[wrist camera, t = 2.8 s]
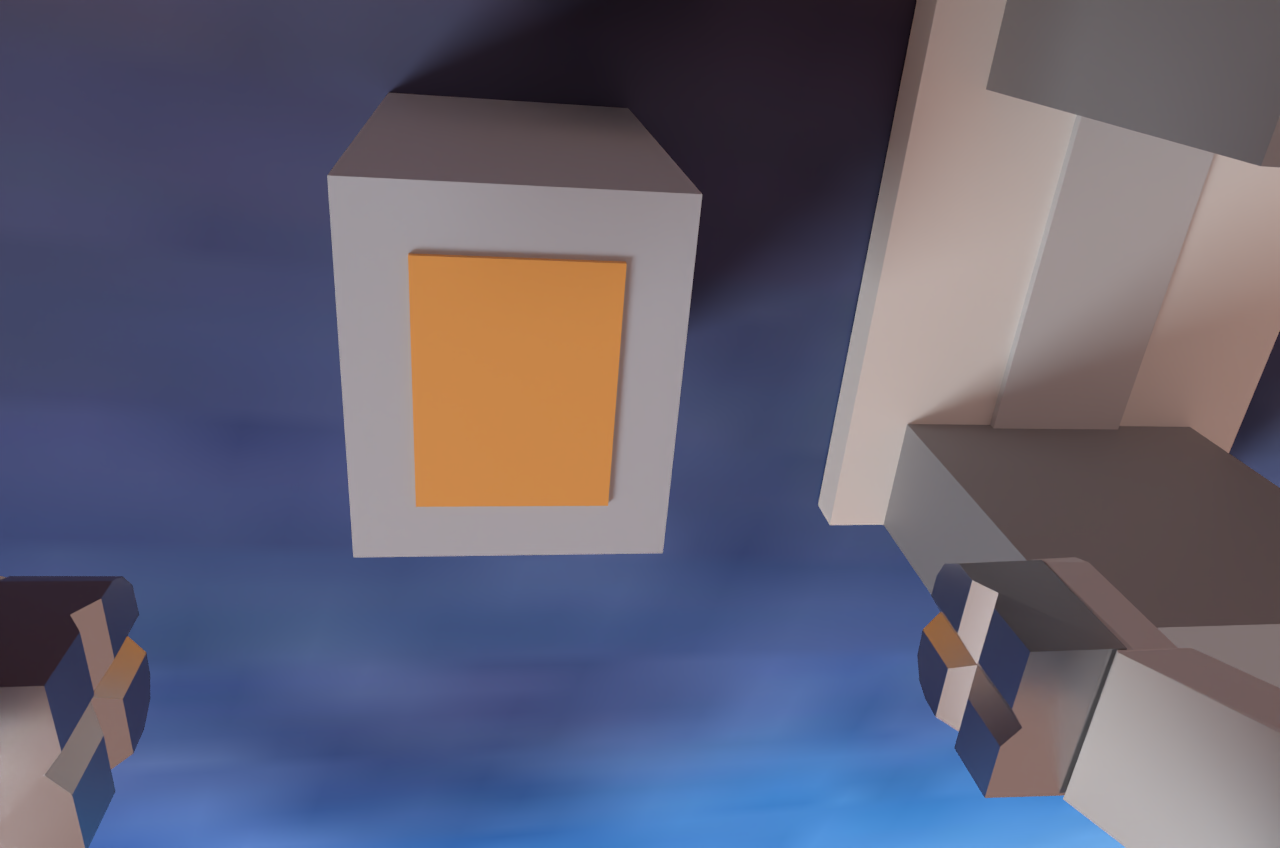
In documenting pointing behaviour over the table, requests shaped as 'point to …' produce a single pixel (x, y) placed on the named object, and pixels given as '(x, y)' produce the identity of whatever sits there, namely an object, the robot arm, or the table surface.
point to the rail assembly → (1077, 306)
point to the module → (510, 327)
